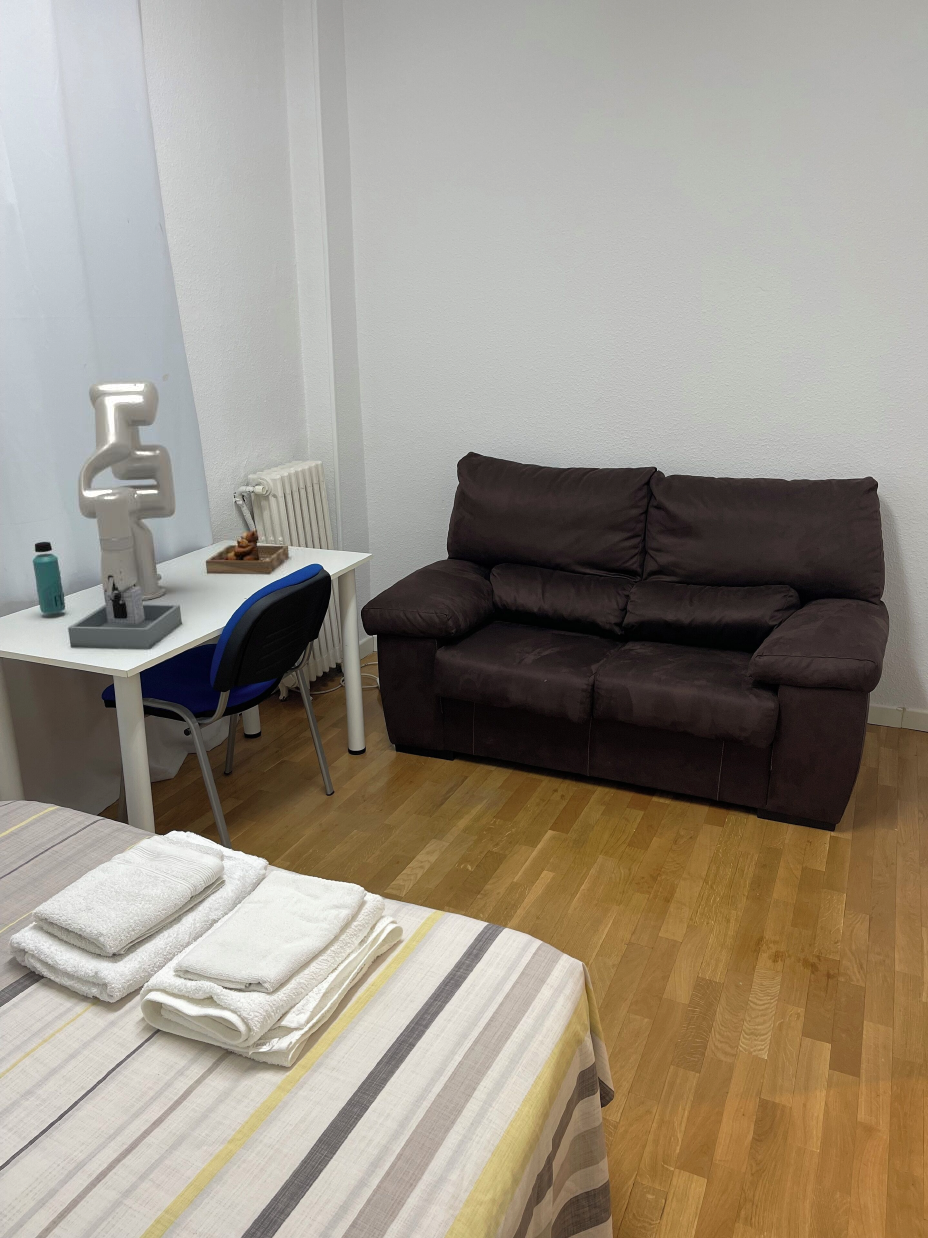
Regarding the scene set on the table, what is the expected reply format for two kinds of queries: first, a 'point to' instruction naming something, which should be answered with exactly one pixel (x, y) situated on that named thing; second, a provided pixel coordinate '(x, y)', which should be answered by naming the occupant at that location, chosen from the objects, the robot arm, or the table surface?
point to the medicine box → (127, 606)
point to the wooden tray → (248, 567)
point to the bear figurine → (246, 549)
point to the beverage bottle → (48, 580)
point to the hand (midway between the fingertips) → (125, 614)
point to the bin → (125, 629)
